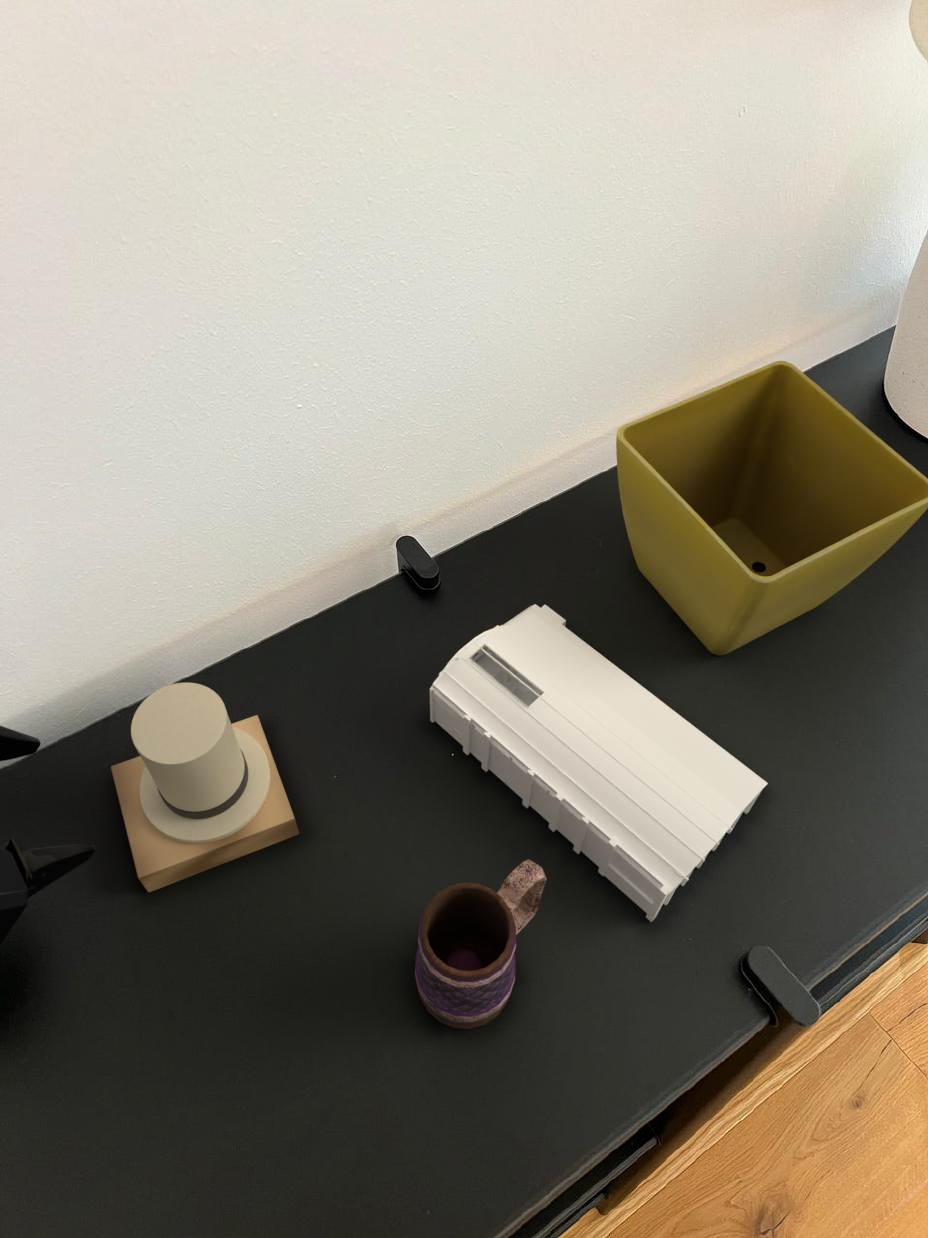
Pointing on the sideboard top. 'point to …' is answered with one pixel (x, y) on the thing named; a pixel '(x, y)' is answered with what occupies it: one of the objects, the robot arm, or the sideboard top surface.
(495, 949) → the mug
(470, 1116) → the sideboard top surface
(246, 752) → the hat
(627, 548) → the sideboard top surface
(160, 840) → the wooden block
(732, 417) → the flower pot
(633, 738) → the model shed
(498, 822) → the sideboard top surface
